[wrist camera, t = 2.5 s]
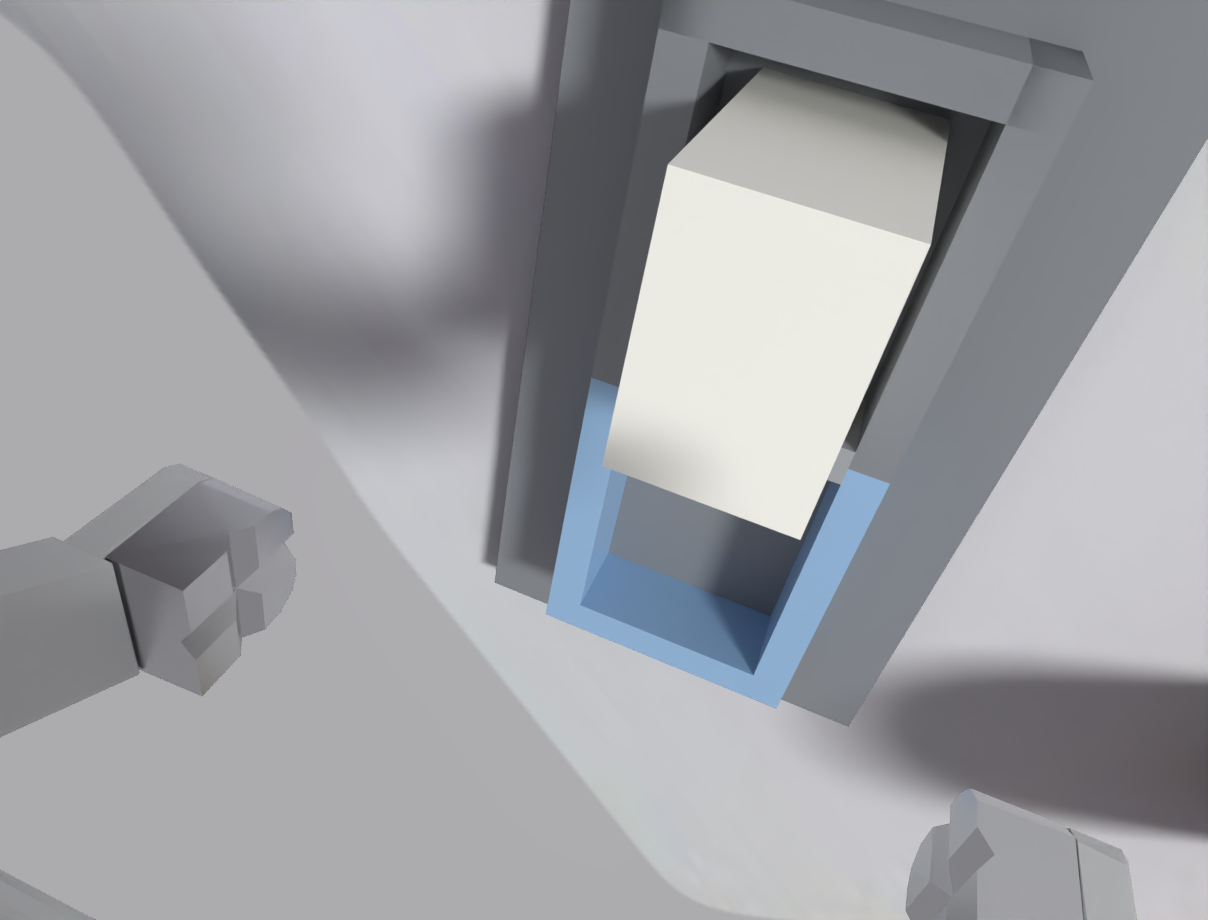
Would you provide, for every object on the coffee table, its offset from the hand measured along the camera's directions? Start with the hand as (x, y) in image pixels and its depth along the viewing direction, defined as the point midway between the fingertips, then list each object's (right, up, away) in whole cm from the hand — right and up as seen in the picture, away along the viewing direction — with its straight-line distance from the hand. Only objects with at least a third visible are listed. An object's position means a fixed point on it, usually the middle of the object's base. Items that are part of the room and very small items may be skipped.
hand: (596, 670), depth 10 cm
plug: (+5, +8, +10) cm, 14 cm away
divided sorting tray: (+4, +5, +13) cm, 15 cm away
